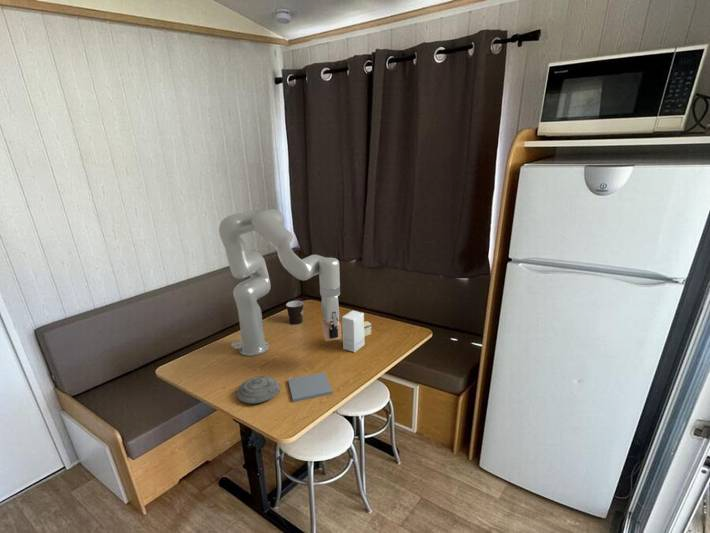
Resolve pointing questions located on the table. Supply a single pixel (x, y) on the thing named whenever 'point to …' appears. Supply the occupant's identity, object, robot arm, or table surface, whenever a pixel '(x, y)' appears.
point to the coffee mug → (295, 312)
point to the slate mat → (309, 386)
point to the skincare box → (353, 331)
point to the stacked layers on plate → (367, 328)
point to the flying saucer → (258, 389)
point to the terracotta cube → (326, 330)
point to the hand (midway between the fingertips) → (331, 333)
